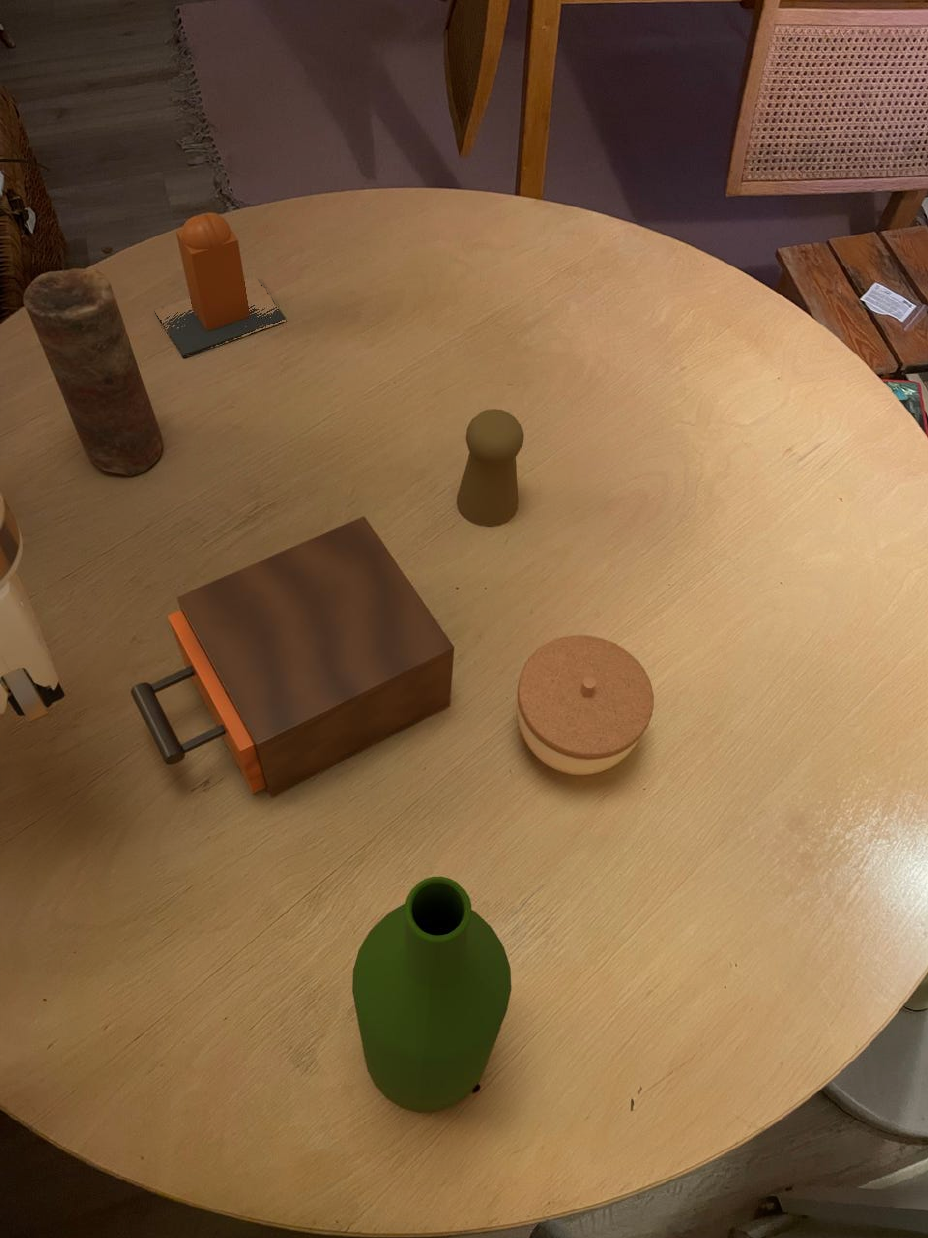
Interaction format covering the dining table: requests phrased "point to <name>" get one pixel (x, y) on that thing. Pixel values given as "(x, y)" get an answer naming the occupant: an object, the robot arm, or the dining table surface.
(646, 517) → the dining table surface
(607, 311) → the dining table surface
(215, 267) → the tall orange block
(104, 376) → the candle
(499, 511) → the chess pawn piece
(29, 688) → the robot arm
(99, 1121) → the dining table surface
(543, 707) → the trinket box
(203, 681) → the drawer
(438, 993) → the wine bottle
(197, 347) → the mat
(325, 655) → the cabinet
